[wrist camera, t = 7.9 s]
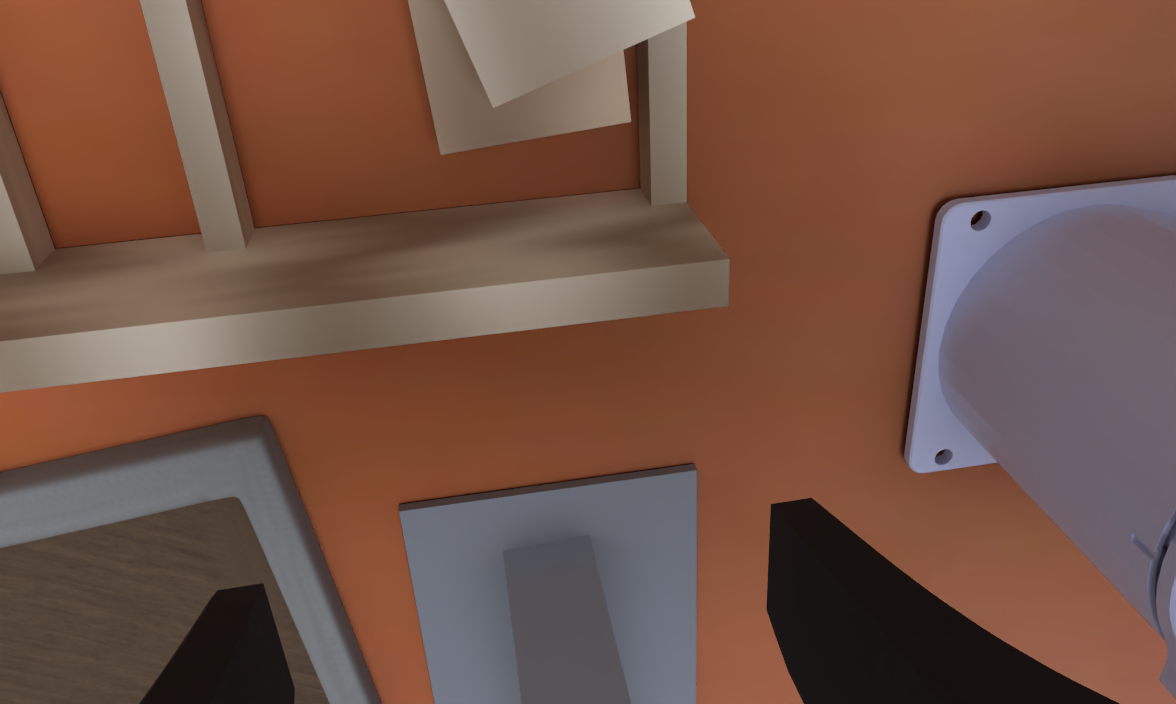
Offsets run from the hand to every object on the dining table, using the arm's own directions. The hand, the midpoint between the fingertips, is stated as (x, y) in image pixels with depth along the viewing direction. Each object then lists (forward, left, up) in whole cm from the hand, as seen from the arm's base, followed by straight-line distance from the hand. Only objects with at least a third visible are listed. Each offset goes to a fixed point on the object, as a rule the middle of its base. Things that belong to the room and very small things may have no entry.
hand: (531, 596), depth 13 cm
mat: (-1, +12, -10) cm, 16 cm away
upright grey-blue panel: (-1, +12, -10) cm, 15 cm away
